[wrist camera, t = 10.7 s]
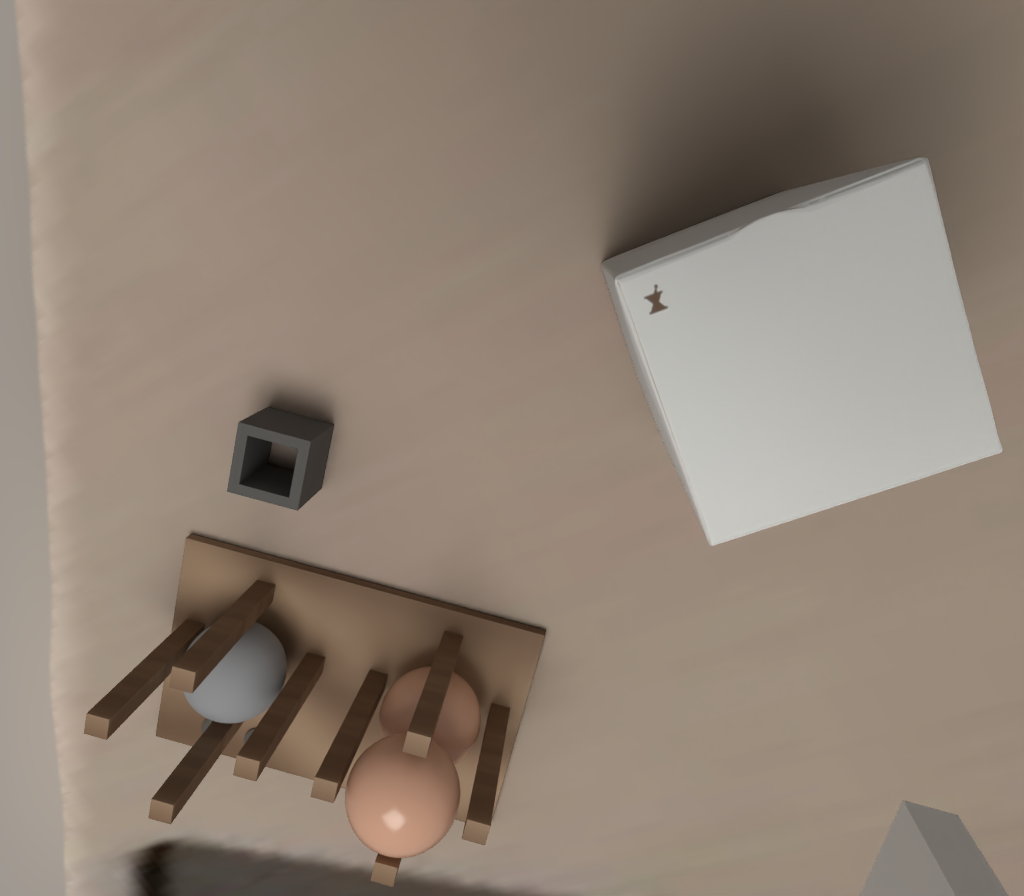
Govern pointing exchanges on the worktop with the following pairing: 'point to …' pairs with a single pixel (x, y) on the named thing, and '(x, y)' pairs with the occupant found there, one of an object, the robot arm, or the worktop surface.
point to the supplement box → (806, 349)
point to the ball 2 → (454, 720)
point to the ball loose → (402, 797)
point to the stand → (275, 482)
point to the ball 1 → (242, 679)
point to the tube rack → (325, 678)
